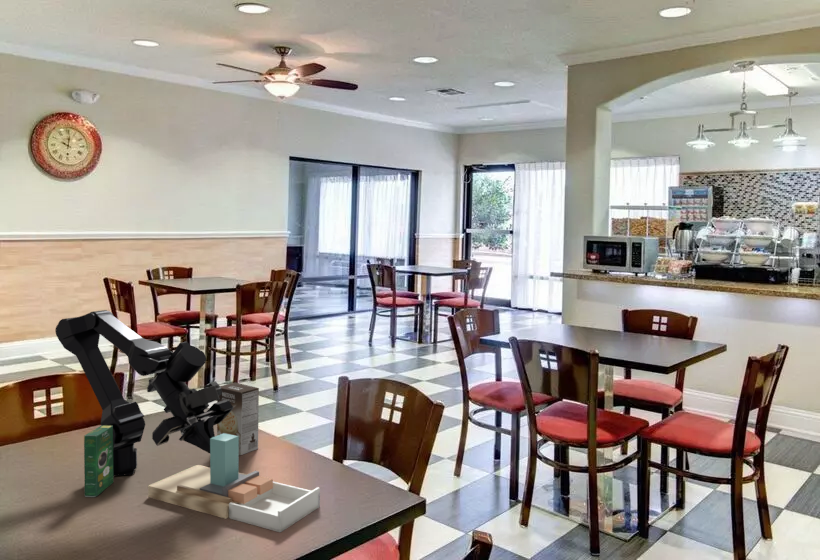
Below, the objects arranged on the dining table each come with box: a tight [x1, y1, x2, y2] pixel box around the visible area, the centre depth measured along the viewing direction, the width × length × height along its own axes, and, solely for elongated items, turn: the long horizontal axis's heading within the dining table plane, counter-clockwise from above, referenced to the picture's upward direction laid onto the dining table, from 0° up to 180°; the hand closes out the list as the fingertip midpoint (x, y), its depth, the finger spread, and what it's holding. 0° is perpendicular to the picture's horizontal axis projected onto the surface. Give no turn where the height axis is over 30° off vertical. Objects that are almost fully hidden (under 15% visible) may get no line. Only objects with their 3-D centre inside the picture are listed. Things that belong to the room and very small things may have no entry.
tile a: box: [245, 475, 274, 495], centre depth 137 cm, size 4×4×2 cm
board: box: [147, 464, 249, 520], centre depth 140 cm, size 21×14×4 cm, turn 64°
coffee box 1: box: [83, 425, 114, 498], centre depth 141 cm, size 8×3×13 cm, turn 0°
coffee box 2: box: [216, 381, 260, 456], centre depth 168 cm, size 9×6×16 cm
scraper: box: [200, 433, 260, 497], centre depth 137 cm, size 7×10×10 cm
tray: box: [228, 481, 321, 533], centre depth 132 cm, size 12×13×4 cm
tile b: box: [228, 484, 257, 504], centre depth 132 cm, size 4×4×2 cm
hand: (216, 453), depth 138 cm, fingers closed, pressing on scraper
